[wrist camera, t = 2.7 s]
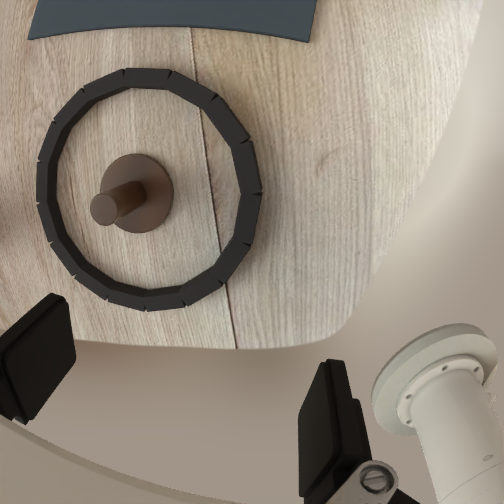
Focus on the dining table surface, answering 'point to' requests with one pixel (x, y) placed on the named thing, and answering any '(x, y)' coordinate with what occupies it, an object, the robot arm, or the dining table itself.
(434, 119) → the dining table surface
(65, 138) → the ring
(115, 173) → the brown peg stand
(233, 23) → the mat
